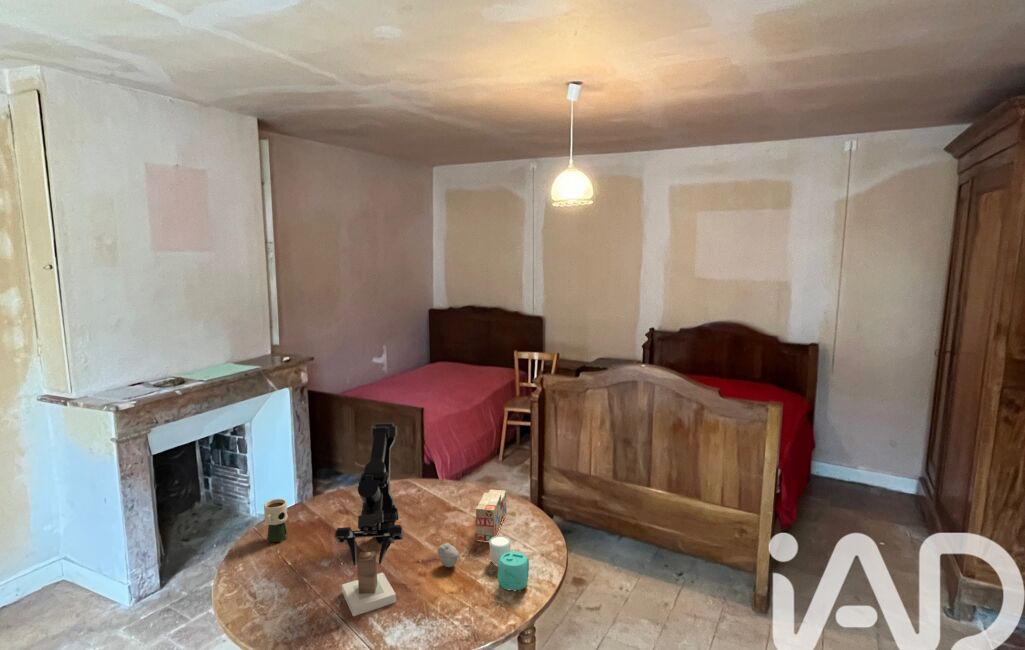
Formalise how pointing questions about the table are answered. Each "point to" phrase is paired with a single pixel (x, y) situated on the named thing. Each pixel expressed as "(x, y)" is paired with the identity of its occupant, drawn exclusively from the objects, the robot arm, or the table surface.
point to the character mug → (276, 519)
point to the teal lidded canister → (513, 570)
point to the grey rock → (448, 555)
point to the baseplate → (368, 596)
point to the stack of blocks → (490, 514)
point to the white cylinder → (499, 547)
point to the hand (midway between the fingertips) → (367, 565)
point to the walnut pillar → (367, 572)
